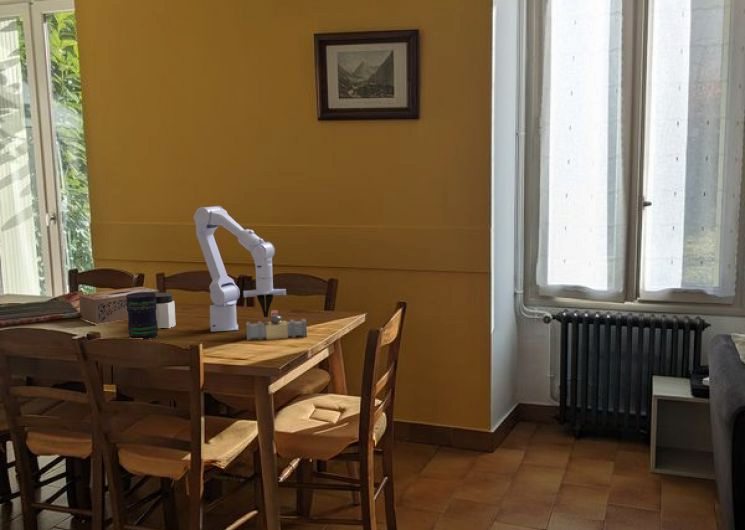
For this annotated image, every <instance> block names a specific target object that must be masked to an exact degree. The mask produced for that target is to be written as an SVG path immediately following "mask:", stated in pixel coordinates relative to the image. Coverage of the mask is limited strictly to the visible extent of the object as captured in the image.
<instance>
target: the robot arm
mask: <svg viewBox="0 0 745 530" xmlns="http://www.w3.org/2000/svg"><path fill="white" fill-rule="evenodd" d="M193 221H194V224H195V234H196V238H197V240H198V243H199V245H200V249H201V252H202V255H203V257H204V259H205V260H204V261H205V263H206V266H207V269H208V271H209V275H210V278H211V279H212V280H211V283H210V284H209V292H210V295H209V296H210V300H211V301H212V303H213V305H212V304H211V305H209V327H210V332H225V331H238V330H239V324H238V322H237V319H238V317H237V302H238V299H239V298H240V295H241V293H240V288H239V287H238V285H236V282H235V280H234V279H233V278H232V277H230V276H228V274H227V271H226V268H225V265H224V262H223V260H222V257H221V254H220V253H221V252H220V250H219V248H218V245H217V243H216V240H215V235H214V233H215V231H216V230H217V229H218V228H219V226H221V227H223V228H224V229H225V230H227V231H229V232H230V233H231V234H233V235H234V236H236V237H237V241H238V243H239V244H240V245H242V246H243V247H244V248H245V249H246V250H247V251H249V252H250V254H251V257H252V259H253V261H254V265H255V266H254V267H255V287H256V289H251V290H243V298H249V297H251V298H252V297H256V298H257V301H258V303H259V304H260V308H261V310H262V313H263V317H264V318H268V317H269V310H270V307H271V304H272V301H273V299H274V296H287V289H286V288H274V282H273V280H274V278H273V277H274V275H273V257H274V256H275V254H276V249H275V246H274V244H273V243H271V242H270V241H264V239H263V238H261V237H260V236H258V235H257V234H256V233H255V231H254V230H253V229H244V228H243V227H242V226H241V225H240V224H239V223H238V222H237V221H235V220H234V218H232V217H231V216H230V215H229V214H228V211H227V210H226V209H224V208H223V207H222V206H220V205H214V206H207V207H206V206H205V207H204V206H201V207H198V208H197V209H196V211H195V213H194V214H193Z"/></svg>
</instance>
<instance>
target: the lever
mask: <svg viewBox="0 0 745 530" xmlns="http://www.w3.org/2000/svg"><path fill="white" fill-rule="evenodd" d="M270 313H271V316H270V322H271V323H280V322H282V321H283V320H282V316H281V315H279V311H278V310H277V309H276V310H275V309H274V310H273V309H272V310H271V312H270Z"/></svg>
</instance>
